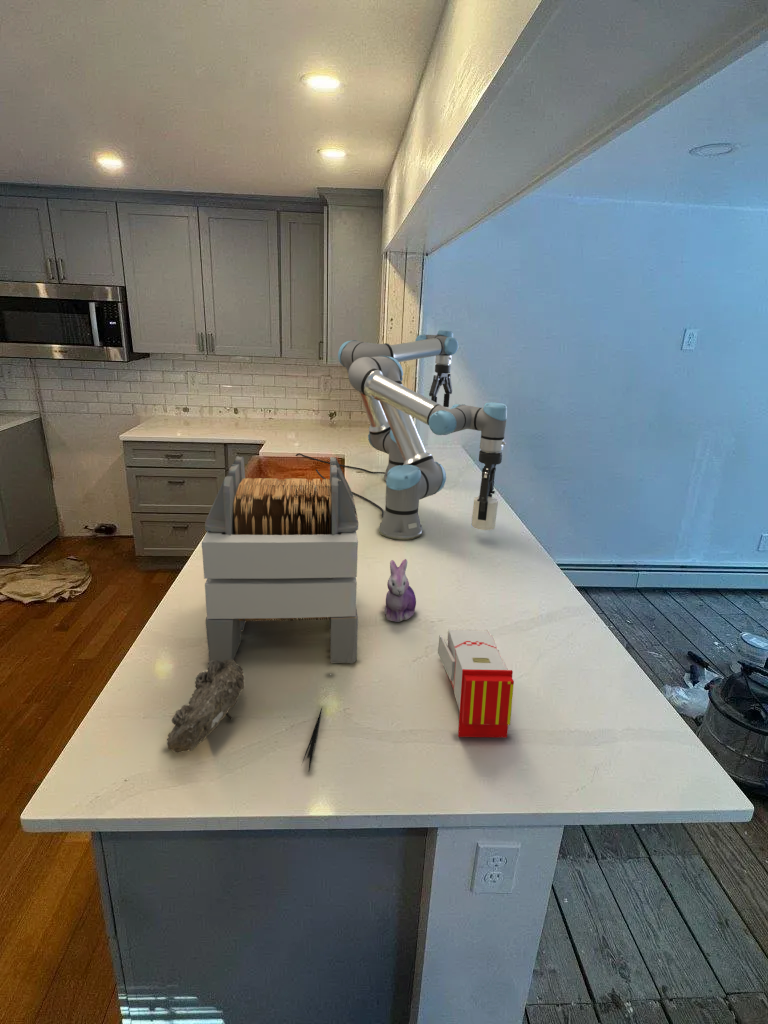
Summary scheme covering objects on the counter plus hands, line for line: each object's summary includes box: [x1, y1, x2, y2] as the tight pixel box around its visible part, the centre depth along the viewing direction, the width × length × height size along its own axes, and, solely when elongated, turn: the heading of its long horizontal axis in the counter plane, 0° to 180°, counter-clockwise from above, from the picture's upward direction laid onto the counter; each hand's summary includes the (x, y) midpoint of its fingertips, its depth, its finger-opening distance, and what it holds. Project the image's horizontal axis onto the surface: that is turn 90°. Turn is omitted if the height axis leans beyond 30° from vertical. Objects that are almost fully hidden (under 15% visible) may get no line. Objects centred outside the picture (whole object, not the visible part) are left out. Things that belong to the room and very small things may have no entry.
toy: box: [437, 628, 515, 738], centre depth 117 cm, size 12×13×30 cm
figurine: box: [384, 558, 417, 623], centre depth 145 cm, size 9×10×15 cm
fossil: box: [166, 659, 245, 754], centre depth 106 cm, size 22×10×15 cm
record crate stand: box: [201, 455, 359, 666], centre depth 133 cm, size 34×33×41 cm
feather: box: [301, 673, 332, 771], centre depth 108 cm, size 2×28×2 cm
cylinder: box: [471, 495, 499, 531], centre depth 194 cm, size 8×8×10 cm
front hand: (484, 515), depth 194 cm, fingers closed on cylinder, 8 cm apart
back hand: (439, 408), depth 279 cm, fingers open, 13 cm apart
